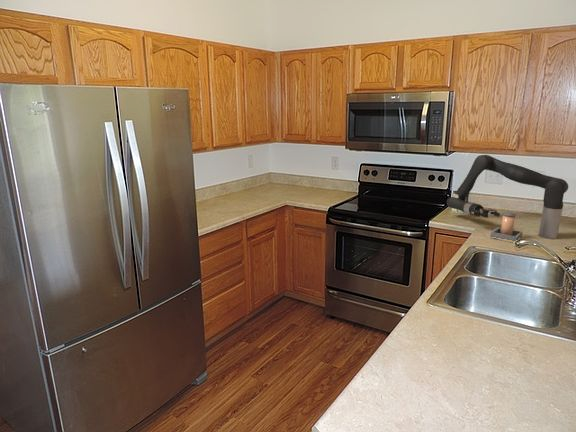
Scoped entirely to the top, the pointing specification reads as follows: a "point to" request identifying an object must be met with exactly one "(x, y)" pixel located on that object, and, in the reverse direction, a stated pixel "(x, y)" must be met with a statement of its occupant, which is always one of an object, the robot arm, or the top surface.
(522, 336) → the top surface
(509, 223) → the jar
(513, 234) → the tote
